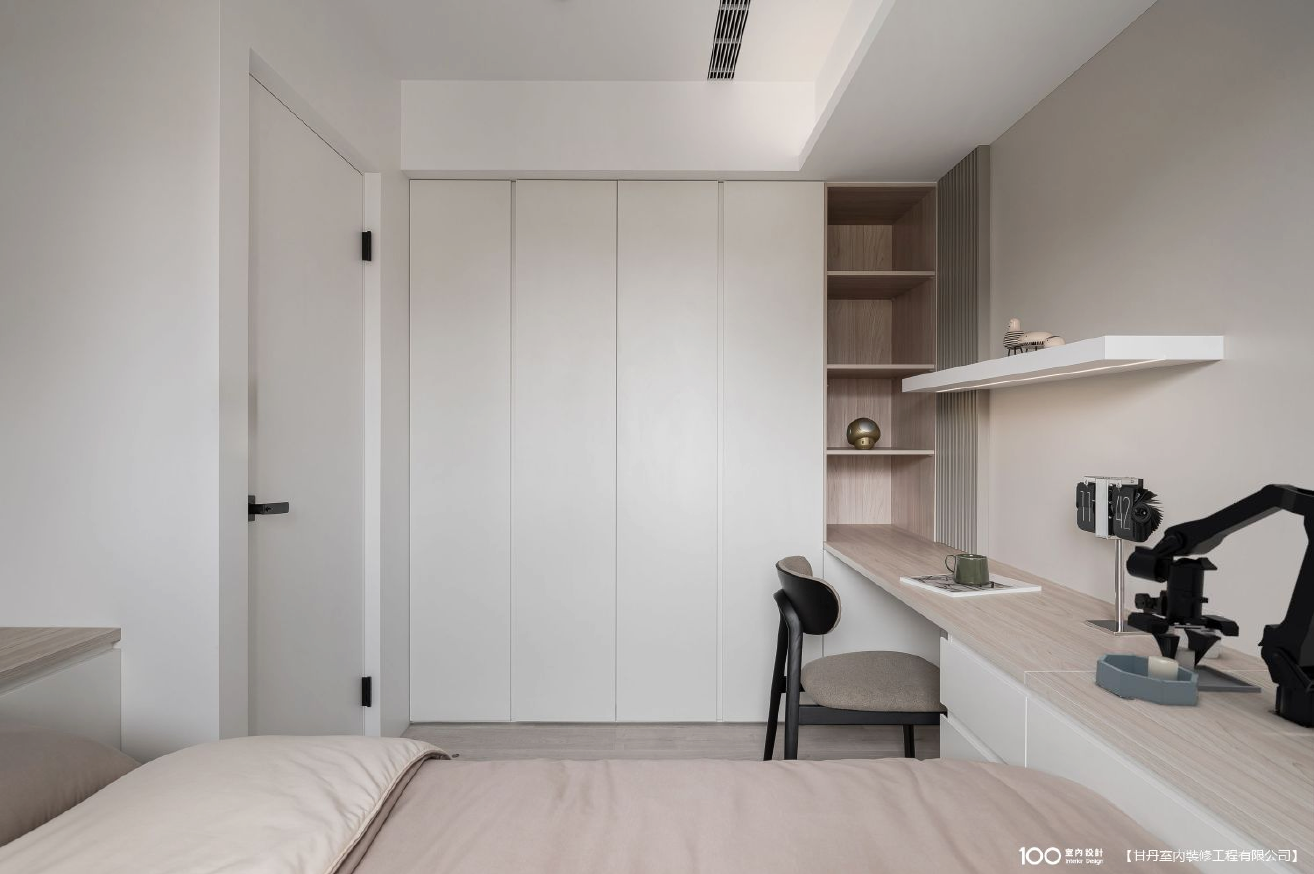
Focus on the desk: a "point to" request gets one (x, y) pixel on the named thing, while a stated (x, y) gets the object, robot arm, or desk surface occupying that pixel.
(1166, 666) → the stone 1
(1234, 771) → the desk surface
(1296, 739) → the desk surface
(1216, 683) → the parts tray
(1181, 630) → the white cup
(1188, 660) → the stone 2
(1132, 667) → the bowl
